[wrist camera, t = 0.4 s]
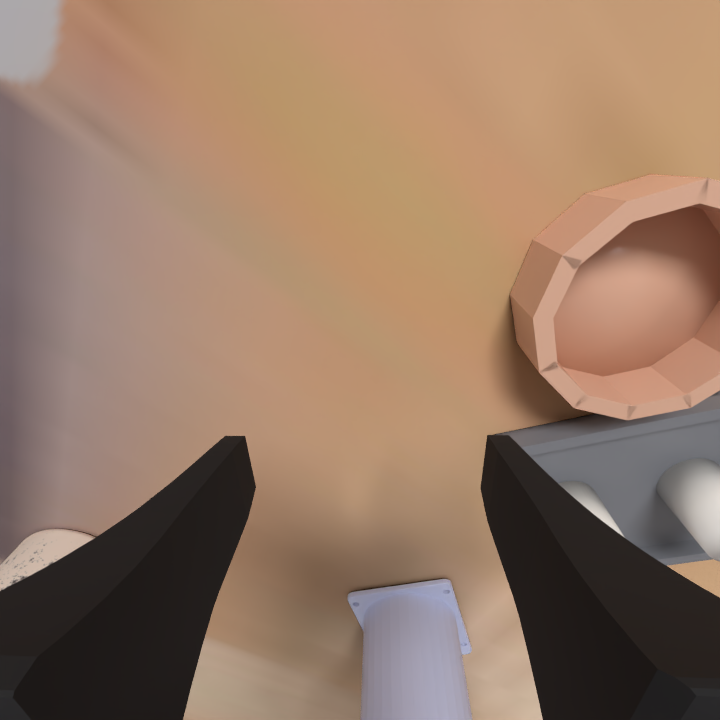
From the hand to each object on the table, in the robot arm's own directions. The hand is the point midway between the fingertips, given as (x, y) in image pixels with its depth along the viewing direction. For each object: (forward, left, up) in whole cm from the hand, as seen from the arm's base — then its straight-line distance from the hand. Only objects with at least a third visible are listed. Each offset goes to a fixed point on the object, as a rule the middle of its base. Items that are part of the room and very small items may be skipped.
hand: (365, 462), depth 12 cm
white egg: (-14, -16, -10) cm, 23 cm away
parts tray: (-14, -12, -10) cm, 21 cm away
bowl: (-1, -12, -10) cm, 16 cm away
